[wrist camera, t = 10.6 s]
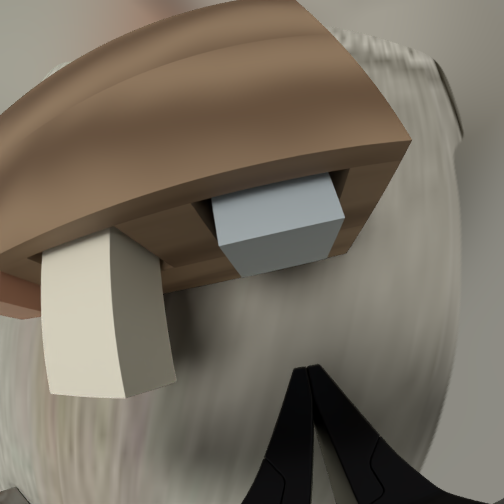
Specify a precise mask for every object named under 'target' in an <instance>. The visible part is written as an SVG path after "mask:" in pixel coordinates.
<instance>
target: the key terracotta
mask: <svg viewBox="0 0 504 504" xmlns="http://www.w3.org/2000/svg"><path fill="white" fill-rule="evenodd" d="M0 315H3V316H7V317H12V318H17V319H22V320H23V319H29V318H35V317H41V285H38V284H35V283H32V282H29V281H26V280H23V279H21V278H18V277H15V276H12V275H9V274H7V273H4V272H1V271H0Z"/></svg>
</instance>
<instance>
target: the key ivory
mask: <svg viewBox="0 0 504 504" xmlns="http://www.w3.org/2000/svg"><path fill="white" fill-rule="evenodd" d="M41 319H42V335H43V346H44V355H45V363H46V371H47V377H48V383H49V389H50V394H58V395H68V396H81V397H98V398H128V397H131V396H135V395H138V394H141V393H145V392H148V391H151V390H154V389H157V388H160V387H163V386H166V385H169V384H172V383H175V382H177V380H176V375H175V369H174V364H173V358H172V353H171V347H170V341H169V334H168V328H167V321H166V314H165V306H164V298H163V290H162V281H161V271H160V260H159V257H157V256H156V255H155V254H153V253H152V252H150V251H149V250H147V249H146V248H144V247H143V246H141V245H140V244H139V243H137V242H136V241H134V240H133V239H131V238H130V237H129V236H127V235H126V234H124V233H123V232H122V231H120V230H119V229H117V228H116V227H115V226H112V227H109V228H106V229H103V230H100V231H97V232H94V233H91V234H88V235H86V236H83V237H80V238H77V239H74V240H72V241H69V242H66V243H63V244H61V245H58V246H55V247H53V248H50V249H47V250H45V251H43V252H42V268H41Z"/></svg>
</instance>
